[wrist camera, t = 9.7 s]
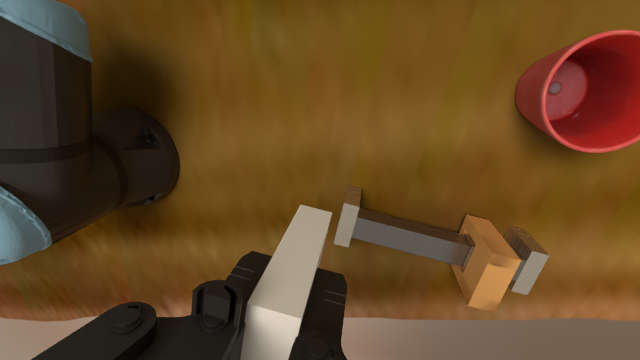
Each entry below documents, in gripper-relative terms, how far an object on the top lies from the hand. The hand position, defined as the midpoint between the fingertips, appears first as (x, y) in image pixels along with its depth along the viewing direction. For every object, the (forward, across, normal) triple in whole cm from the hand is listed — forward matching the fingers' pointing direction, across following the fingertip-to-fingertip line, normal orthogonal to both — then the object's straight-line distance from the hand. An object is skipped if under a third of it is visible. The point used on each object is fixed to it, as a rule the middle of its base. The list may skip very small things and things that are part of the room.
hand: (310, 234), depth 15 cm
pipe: (+29, +14, -11) cm, 34 cm away
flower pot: (+30, +22, +10) cm, 38 cm away
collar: (+28, +19, -11) cm, 36 cm away
